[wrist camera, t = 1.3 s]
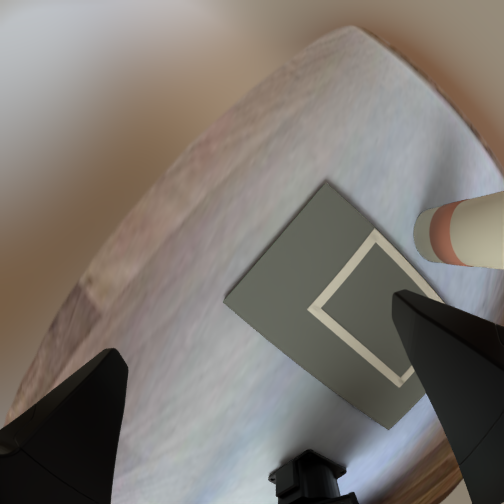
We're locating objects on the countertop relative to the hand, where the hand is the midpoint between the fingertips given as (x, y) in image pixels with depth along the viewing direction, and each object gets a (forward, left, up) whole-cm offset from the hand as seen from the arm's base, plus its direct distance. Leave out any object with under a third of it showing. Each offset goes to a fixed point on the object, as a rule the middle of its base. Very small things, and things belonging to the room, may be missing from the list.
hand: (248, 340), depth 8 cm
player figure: (-10, -13, -15) cm, 23 cm away
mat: (-10, -3, -15) cm, 18 cm away
